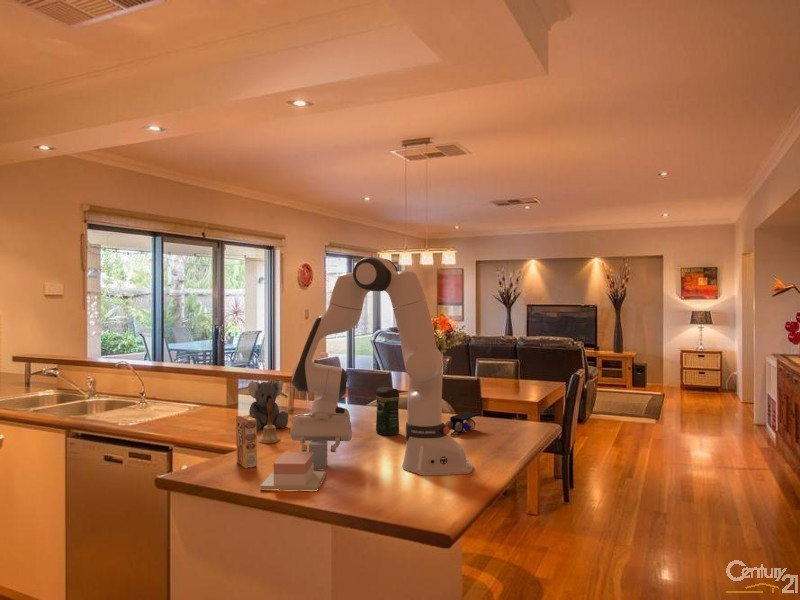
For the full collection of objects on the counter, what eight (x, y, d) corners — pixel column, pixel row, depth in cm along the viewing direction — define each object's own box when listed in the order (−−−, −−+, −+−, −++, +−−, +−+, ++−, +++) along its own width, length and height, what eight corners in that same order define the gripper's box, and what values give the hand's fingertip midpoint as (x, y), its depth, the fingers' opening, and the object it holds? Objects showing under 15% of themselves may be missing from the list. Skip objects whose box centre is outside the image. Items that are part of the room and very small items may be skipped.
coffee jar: (402, 434, 228) (402, 387, 228) (385, 437, 223) (385, 389, 223) (389, 429, 236) (389, 384, 235) (372, 432, 231) (372, 386, 231)
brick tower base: (325, 476, 174) (325, 451, 174) (316, 491, 160) (316, 465, 160) (273, 475, 175) (273, 451, 175) (260, 490, 161) (260, 464, 161)
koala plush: (247, 432, 231) (247, 384, 231) (240, 423, 248) (240, 378, 247) (290, 428, 238) (290, 381, 238) (280, 420, 255) (280, 376, 255)
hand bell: (273, 437, 223) (273, 396, 223) (284, 440, 217) (285, 398, 217) (254, 440, 217) (254, 398, 217) (265, 444, 212) (265, 401, 212)
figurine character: (459, 441, 223) (479, 429, 235) (458, 422, 222) (478, 411, 234) (445, 438, 228) (465, 427, 239) (443, 419, 227) (464, 409, 238)
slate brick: (327, 465, 186) (327, 440, 186) (324, 470, 181) (324, 444, 181) (312, 465, 186) (312, 440, 186) (308, 469, 181) (308, 444, 181)
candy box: (257, 466, 184) (257, 419, 184) (244, 468, 182) (244, 420, 182) (247, 460, 191) (247, 414, 191) (235, 462, 189) (235, 416, 189)
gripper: (292, 408, 192) (284, 445, 182) (352, 409, 191) (348, 446, 181) (295, 419, 196) (288, 455, 187) (354, 420, 195) (350, 456, 186)
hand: (318, 451), depth 184 cm, fingers open, 8 cm apart
